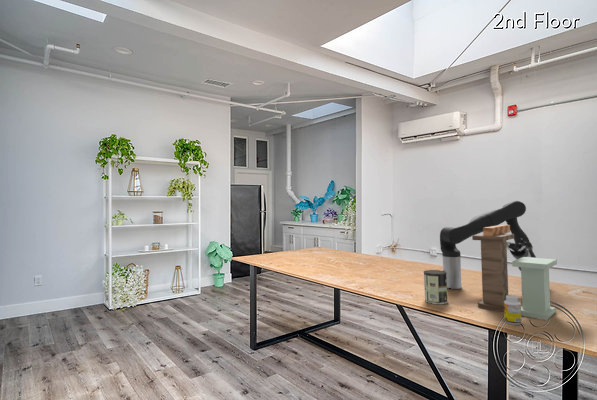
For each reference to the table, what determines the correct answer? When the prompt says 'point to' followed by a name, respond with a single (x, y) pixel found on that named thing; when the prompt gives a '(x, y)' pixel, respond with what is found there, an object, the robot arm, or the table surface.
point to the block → (496, 230)
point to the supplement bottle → (512, 310)
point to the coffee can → (435, 286)
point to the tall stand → (494, 270)
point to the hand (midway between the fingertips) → (511, 240)
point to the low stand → (535, 286)
